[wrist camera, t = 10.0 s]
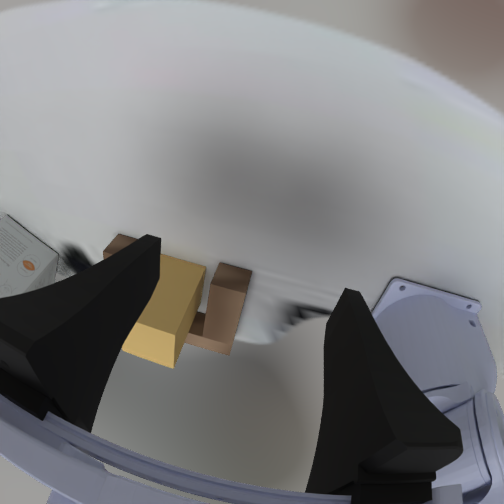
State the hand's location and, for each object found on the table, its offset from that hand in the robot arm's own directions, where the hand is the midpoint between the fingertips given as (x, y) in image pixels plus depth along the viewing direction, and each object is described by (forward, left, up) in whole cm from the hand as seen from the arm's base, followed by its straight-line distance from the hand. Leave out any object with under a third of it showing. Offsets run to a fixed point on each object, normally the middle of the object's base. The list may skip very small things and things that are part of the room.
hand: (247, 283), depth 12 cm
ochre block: (+6, +10, -9) cm, 15 cm away
